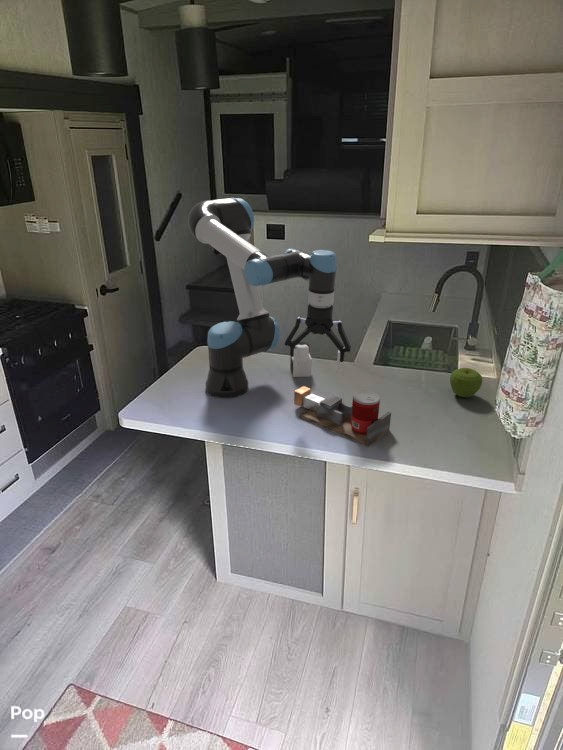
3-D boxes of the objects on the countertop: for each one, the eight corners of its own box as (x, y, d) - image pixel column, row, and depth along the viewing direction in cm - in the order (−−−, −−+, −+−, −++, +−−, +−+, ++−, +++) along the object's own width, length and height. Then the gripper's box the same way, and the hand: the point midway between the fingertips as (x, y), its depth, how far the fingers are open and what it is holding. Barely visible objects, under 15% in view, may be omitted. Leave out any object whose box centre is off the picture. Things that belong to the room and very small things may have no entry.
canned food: (376, 436, 154) (379, 404, 149) (349, 433, 155) (351, 401, 150) (377, 423, 161) (380, 392, 156) (351, 420, 162) (353, 389, 157)
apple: (448, 386, 186) (452, 361, 182) (479, 391, 183) (484, 365, 179) (446, 399, 177) (450, 373, 173) (478, 405, 174) (483, 378, 169)
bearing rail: (299, 417, 166) (299, 399, 163) (321, 403, 174) (322, 386, 172) (368, 446, 151) (370, 427, 148) (389, 430, 159) (391, 411, 156)
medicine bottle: (290, 369, 198) (290, 340, 193) (308, 368, 199) (309, 339, 194) (292, 377, 192) (293, 347, 187) (311, 376, 193) (312, 347, 188)
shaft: (294, 403, 171) (294, 391, 169) (303, 398, 174) (303, 386, 172) (331, 419, 162) (331, 405, 160) (339, 413, 165) (340, 400, 163)
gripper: (276, 304, 151) (275, 369, 161) (362, 312, 148) (355, 377, 158) (281, 296, 158) (279, 358, 168) (363, 303, 154) (356, 367, 164)
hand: (316, 368), depth 163 cm, fingers open, 13 cm apart
